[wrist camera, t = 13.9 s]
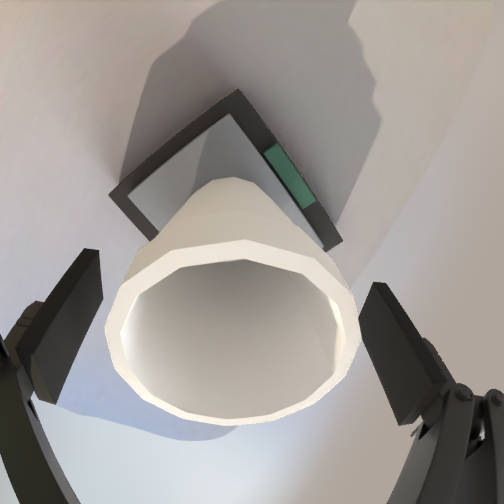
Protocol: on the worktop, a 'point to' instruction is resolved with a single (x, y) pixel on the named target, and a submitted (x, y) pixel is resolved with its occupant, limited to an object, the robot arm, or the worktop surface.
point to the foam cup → (232, 312)
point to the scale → (221, 172)
